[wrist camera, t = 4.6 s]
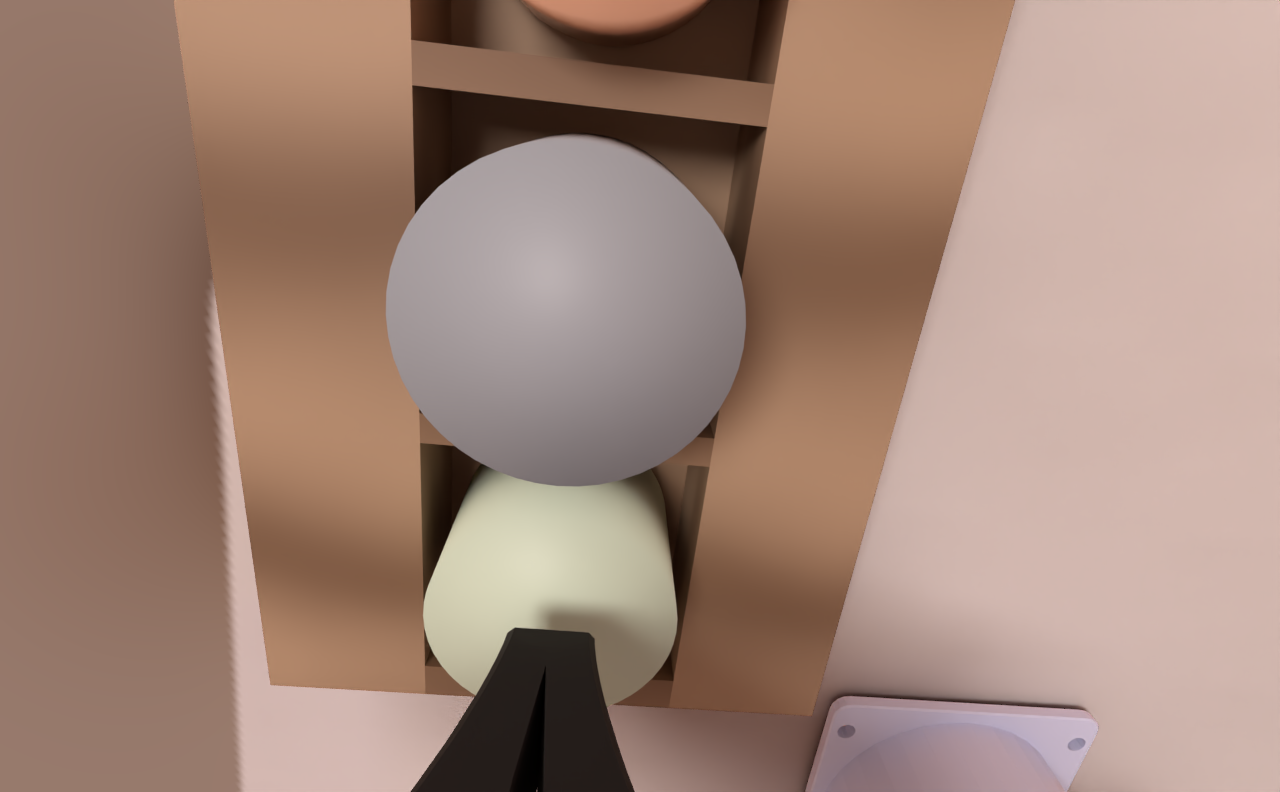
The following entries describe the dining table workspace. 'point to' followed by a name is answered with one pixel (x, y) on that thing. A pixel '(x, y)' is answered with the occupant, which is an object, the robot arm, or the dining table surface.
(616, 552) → the key sage
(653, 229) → the key slate
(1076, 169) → the dining table surface
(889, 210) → the brown wooden flat frame
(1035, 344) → the dining table surface
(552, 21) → the peach rounded block
